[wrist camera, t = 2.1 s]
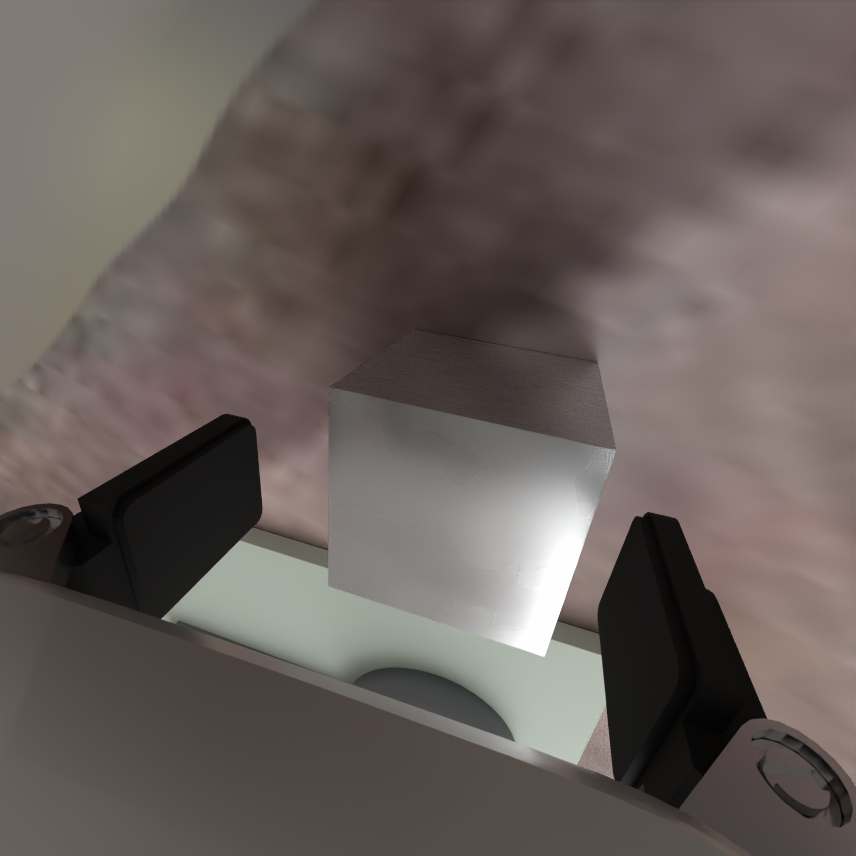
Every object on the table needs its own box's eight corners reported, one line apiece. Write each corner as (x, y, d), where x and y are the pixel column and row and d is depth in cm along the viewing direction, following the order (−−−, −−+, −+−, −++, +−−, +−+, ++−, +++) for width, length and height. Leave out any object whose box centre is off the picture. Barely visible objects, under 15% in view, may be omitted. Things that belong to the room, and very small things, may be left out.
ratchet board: (623, 641, 18) (647, 822, 12) (529, 844, 26) (518, 1005, 20) (139, 492, 23) (6, 574, 17) (188, 701, 31) (108, 801, 25)
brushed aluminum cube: (597, 362, 13) (616, 450, 8) (552, 517, 16) (544, 657, 11) (414, 329, 15) (328, 387, 9) (400, 477, 17) (328, 586, 12)
